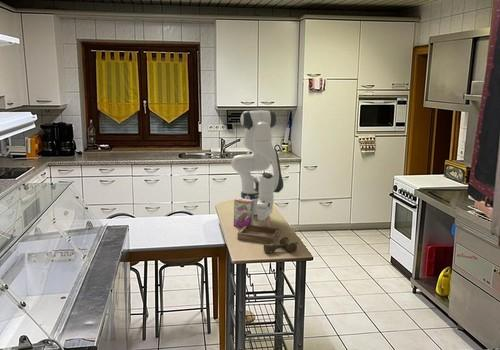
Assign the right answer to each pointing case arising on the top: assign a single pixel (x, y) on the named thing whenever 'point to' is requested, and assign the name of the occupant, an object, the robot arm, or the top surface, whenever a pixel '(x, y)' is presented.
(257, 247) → the top surface
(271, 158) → the robot arm
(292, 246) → the kendama
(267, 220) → the peach rounded capsule
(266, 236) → the tray
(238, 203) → the candy bar box
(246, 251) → the top surface
